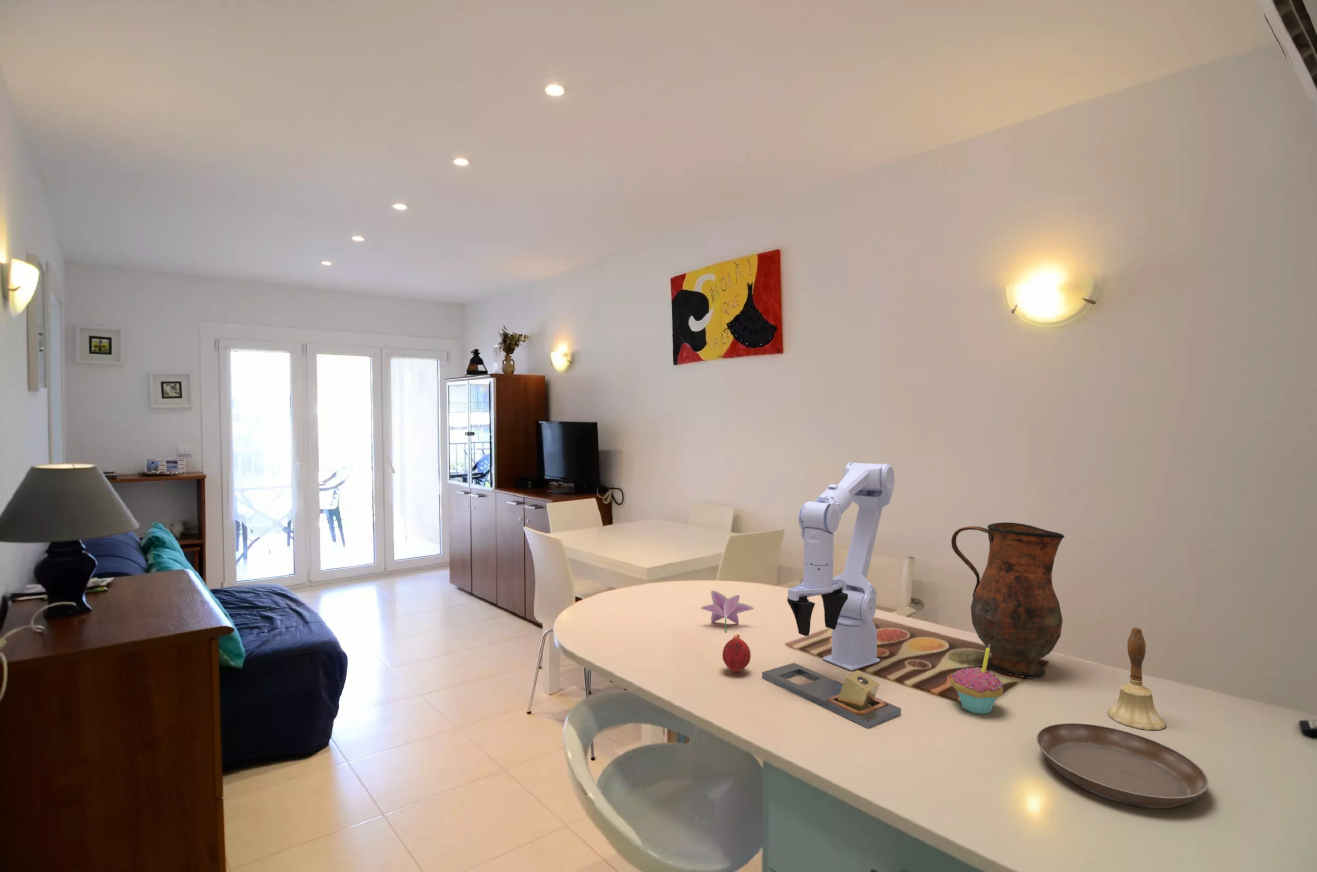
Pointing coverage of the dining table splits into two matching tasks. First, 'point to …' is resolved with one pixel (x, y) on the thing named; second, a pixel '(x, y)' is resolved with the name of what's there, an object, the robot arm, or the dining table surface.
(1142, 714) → the hand bell
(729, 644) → the pomegranate
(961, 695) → the cupcake
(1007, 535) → the pitcher
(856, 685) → the brass cube with hole
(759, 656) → the dining table surface
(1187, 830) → the dining table surface
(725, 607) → the lily
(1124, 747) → the plant saucer
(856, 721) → the rail
